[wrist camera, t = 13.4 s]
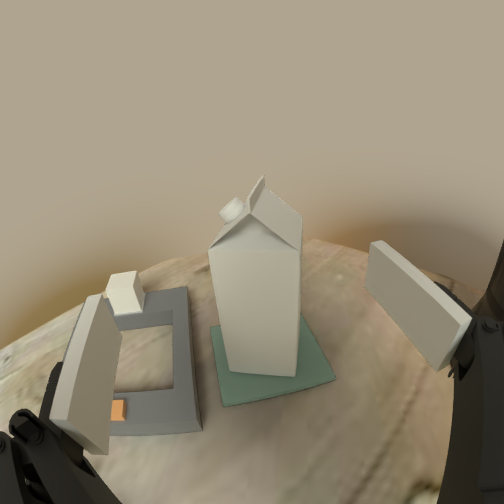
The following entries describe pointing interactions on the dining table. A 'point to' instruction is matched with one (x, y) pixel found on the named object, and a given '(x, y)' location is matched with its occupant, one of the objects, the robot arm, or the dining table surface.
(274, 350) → the milk carton
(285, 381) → the felt pad
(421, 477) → the dining table surface
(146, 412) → the grey open frame
